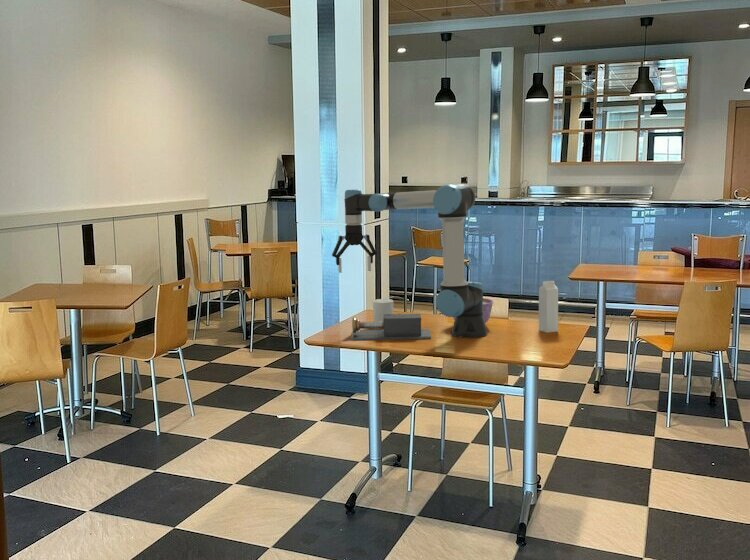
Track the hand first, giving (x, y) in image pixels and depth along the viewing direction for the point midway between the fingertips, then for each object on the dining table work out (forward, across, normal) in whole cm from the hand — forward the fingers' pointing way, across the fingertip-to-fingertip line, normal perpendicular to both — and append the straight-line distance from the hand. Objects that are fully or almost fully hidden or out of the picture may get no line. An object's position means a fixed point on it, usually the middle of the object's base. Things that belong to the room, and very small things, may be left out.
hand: (354, 271), depth 329 cm
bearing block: (+26, -11, +19) cm, 34 cm away
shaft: (+25, -5, +17) cm, 31 cm away
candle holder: (+27, -14, -2) cm, 30 cm away
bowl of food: (+26, -51, +13) cm, 59 cm away
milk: (+26, -78, +36) cm, 89 cm away
